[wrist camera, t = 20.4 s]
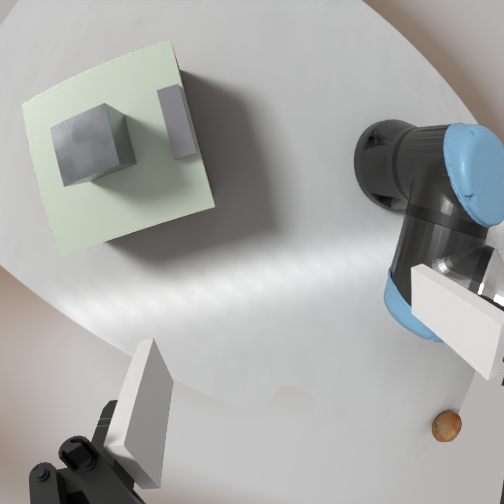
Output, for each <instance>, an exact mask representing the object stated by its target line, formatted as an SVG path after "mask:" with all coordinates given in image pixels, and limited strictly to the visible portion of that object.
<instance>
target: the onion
mask: <svg viewBox="0 0 504 504" xmlns="http://www.w3.org/2000/svg"><path fill="white" fill-rule="evenodd" d="M461 426H462V423H461V419H460V416H459V415H458V414H456V413H455V412H452V411H446V412H443V413H441V414H440V415H438V417H437V418H436V419H435V420H434V422H433V424H432V434H433V436H434V438H435V439H436V440H438V441H440V442H449V441H452V440H454V439H455V438H456V437H457V435H458V434H459V432H460V430H461Z"/></svg>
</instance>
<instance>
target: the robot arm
mask: <svg viewBox="0 0 504 504" xmlns="http://www.w3.org/2000/svg"><path fill="white" fill-rule="evenodd" d="M354 169H355V174H356V178H357V181H358V183H359V185H360V187H361V189H362V191H363V192H364V194H365V195H366V196H367V197H368V198H369V199H370V200H371V201H373V202H374V203H376V204H377V205H379V206H382V207H385V208H389V209H394V210H402V209H406V208H407V209H406V213H405V216H404V221H403V225H402V229H401V233H400V237H399V241H398V244H397V248H396V251H395V255H394V258H393V261H392V265H391V267H390V268H389V271H388V280H387V284H386V288H385V292H384V302H385V305H386V307H387V309H388V311H389V313H390V314H391V315H392V316H393V317H394V318H395V320H397V321H398V322H399V323H400V324H401V325H402V326H404V327H405V328H407V329H408V330H409V331H411V332H413V333H414V334H416V335H418V336H420V337H422V338H425V339H432V340H433V341H435V342H445V343H446V344H447V345H449V346H450V347H451V348H452V349H453V350H454V351H455V352H457V353H458V354H459V355H460V356H461V357H462V358H463V359H464V360H465V361H467V362H468V363H469V364H470V365H471V366H472V367H473V368H474V369H475V370H476V371H478V372H479V373H480V374H481V375H482V376H483V377H484V378H485V379H486V380H487V381H489V380H490V379H492V378H493V377H495V376H496V375H497V374H499V373H500V370H501V366H502V363H503V362H504V263H503V261H502V259H501V257H500V254H499V252H498V250H497V249H495V248H492V247H490V246H487V245H485V241H486V237H487V233H488V229H489V227H491V226H495V225H498V224H500V223H501V222H502V221H503V220H504V146H503V144H502V143H501V141H500V140H499V138H498V137H497V136H496V135H495V134H494V133H493V132H492V131H490V130H489V129H487V128H485V127H483V126H480V125H472V124H464V123H454V124H449V125H437V126H427V127H416V126H414V125H412V124H409V123H407V122H404V121H401V120H385V121H380V122H377V123H375V124H373V125H371V126H370V127H368V128H367V129H366V130H365V131H364V133H363V134H362V135H361V137H360V139H359V141H358V143H357V146H356V149H355V155H354ZM502 386H504V378H503V382H502ZM172 387H173V380H172V377H171V375H170V373H169V371H168V369H167V367H166V365H165V363H164V360H163V358H162V356H161V354H160V352H159V349H158V347H157V345H156V343H155V340H154V338H152V339H147V340H142V341H139V343H138V346H137V348H136V351H135V354H134V356H133V359H132V362H131V364H130V367H129V370H128V373H127V376H126V379H125V381H124V384H123V387H122V390H121V393H120V396H119V399H118V400H113V401H110V402H109V403H108V404H107V405H106V406H105V407H104V409H103V411H102V413H101V416H100V420H99V421H98V424H97V427H96V430H95V433H94V436H93V438H92V441H91V442H90V441H89V440H88V439H87V438H86V437H83V436H74V437H72V438H69V439H68V440H66V441H65V442H64V443H63V444H62V445H61V447H60V449H59V458H60V459H61V460H62V461H63V462H64V463H65V465H67V467H68V468H64V469H59V470H57V469H56V468H55V467H54V466H53V465H52V464H51V463H47V462H45V463H40V464H38V465H36V466H35V467H34V468H33V469H32V471H31V473H30V476H29V488H30V502H31V504H145V502H144V501H143V500H142V499H141V497H140V496H139V495H138V494H137V493H136V492H135V491H134V490H133V487H134V481H135V482H136V483H137V484H138V485H139V486H140V487H141V488H142V489H153V488H154V489H155V488H160V486H161V475H162V466H163V457H164V448H165V439H166V431H167V423H168V416H169V409H170V402H171V394H172ZM500 504H504V482H503V489H502V496H501V501H500Z"/></svg>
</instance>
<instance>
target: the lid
mask: <svg viewBox="0 0 504 504" xmlns="http://www.w3.org/2000/svg"><path fill="white" fill-rule="evenodd" d="M103 103H106V104H108V105H109V106H111V107H113V108H115V109H116V110H118V111H120V112H122V113H123V114H124V115H125V119H126V123H127V127H128V131H129V135H130V139H131V143H132V147H133V150H134V154H135V158H136V161H137V164H136V165H133V166H130V167H127V168H125V169H122V170H119V171H117V172H114V173H111V174H109V175H106V176H103V177H101V178H98V179H96V180H93V181H91V182H87V183H81V184H76V185H71V186H67V187H64V185H63V182H62V178H61V174H60V170H59V166H58V162H57V158H56V154H55V150H54V145H53V141H52V136H51V131H50V128H51V127H53V126H55V125H57V124H59V123H61V122H63V121H65V120H67V119H69V118H72V117H74V116H76V115H78V114H80V113H82V112H85V111H87V110H89V109H91V108H94V107H96V106H98V105H101V104H103ZM22 108H23V115H24V121H25V127H26V133H27V138H28V143H29V148H30V153H31V158H32V162H33V166H34V170H35V175H36V178H37V182H38V186H39V190H40V193H41V197H42V200H43V204H44V207H45V211H46V214H47V217H48V220H49V223H50V226H51V229H52V232H53V235H54V238H55V241H56V244H57V246H58V249H59V252H60V255H61V257H63V256H66V255H69V254H71V253H74V252H77V251H80V250H82V249H85V248H88V247H91V246H94V245H97V244H100V243H102V242H105V241H108V240H111V239H114V238H117V237H120V236H123V235H126V234H129V233H132V232H135V231H138V230H141V229H144V228H148V227H151V226H154V225H157V224H160V223H163V222H167V221H170V220H173V219H176V218H179V217H183V216H186V215H189V214H193V213H196V212H199V211H203V210H206V209H210V208H213V207H215V204H214V200H213V197H212V193H211V189H210V186H209V182H208V179H207V175H206V171H205V168H204V164H203V161H202V157H201V153H200V150H199V146H198V142H197V139H196V135H195V131H194V127H193V124H192V120H191V116H190V112H189V109H188V105H187V101H186V97H185V93H184V90H183V86H182V82H181V78H180V74H179V70H178V66H177V62H176V58H175V54H174V50H173V46H172V43H171V40H167V41H164V42H160V43H157V44H154V45H151V46H148V47H145V48H142V49H139V50H136V51H133V52H130V53H128V54H125V55H122V56H120V57H117V58H114V59H112V60H109V61H107V62H104V63H102V64H100V65H97V66H95V67H93V68H90V69H88V70H86V71H84V72H81V73H79V74H77V75H75V76H73V77H71V78H69V79H67V80H65V81H63V82H61V83H59V84H57V85H55V86H53V87H51V88H49V89H47V90H46V91H44V92H42V93H40V94H38V95H37V96H35V97H33V98H31V99H30V100H28V101H26V102H25V103H23V104H22Z"/></svg>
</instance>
